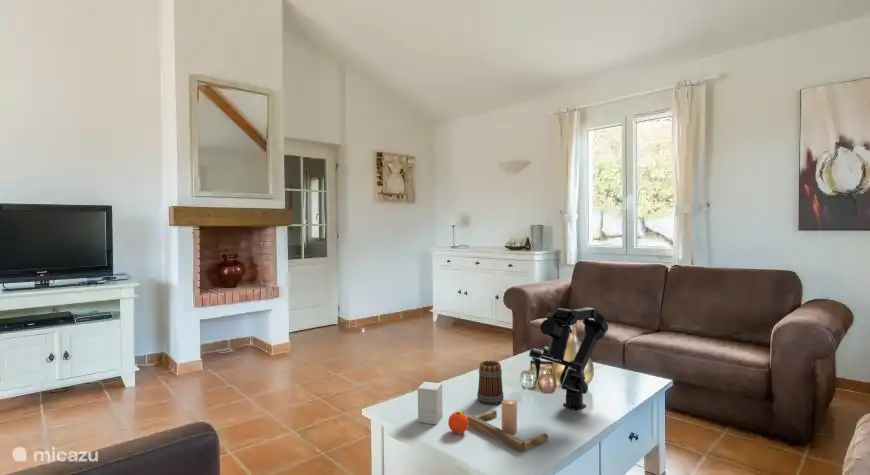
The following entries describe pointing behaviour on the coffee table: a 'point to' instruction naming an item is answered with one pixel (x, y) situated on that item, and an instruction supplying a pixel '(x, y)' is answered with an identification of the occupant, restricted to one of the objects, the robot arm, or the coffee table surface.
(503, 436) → the bay
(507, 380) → the coffee table surface
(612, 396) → the coffee table surface
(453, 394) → the coffee table surface
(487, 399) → the mug
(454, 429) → the clementine
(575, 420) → the coffee table surface
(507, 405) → the tan cylinder
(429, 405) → the supplement box
